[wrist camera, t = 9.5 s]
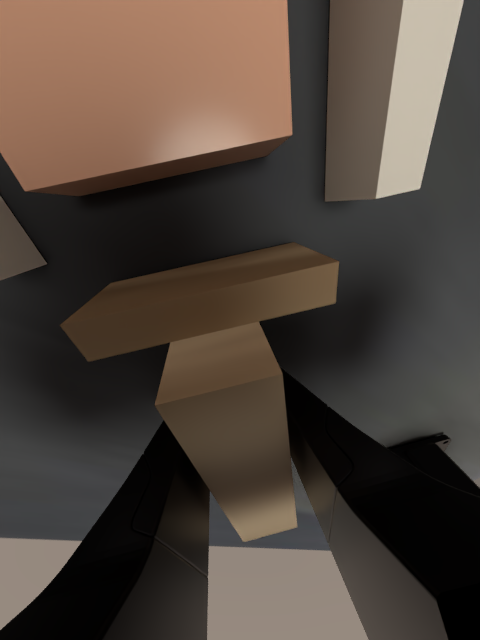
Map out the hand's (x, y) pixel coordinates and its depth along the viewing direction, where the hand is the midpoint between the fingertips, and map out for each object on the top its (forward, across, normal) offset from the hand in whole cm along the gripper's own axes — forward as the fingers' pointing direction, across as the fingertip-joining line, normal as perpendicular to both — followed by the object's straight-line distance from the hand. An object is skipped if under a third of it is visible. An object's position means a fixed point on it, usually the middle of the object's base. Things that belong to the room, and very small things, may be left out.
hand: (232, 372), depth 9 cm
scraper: (+1, 0, +2) cm, 2 cm away
